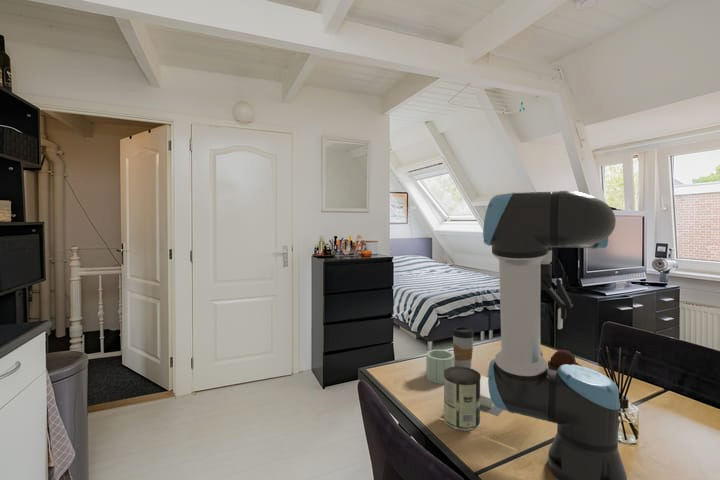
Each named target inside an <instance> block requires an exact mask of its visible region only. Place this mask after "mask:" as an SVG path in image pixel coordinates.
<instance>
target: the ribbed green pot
mask: <svg viewBox="0 0 720 480" xmlns="http://www.w3.org/2000/svg"><path fill="white" fill-rule="evenodd" d="M425 363H426V380H427V379H428V381H430V382H433V383H435V384H441V385H442V384H443V385H444V370H445V369H447V368H450V367H455V356H454V352H451V351H450V350H446V349H445V350H444V349H431V350H428V351H426V362H425Z"/></svg>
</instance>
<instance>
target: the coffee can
mask: <svg viewBox="0 0 720 480" xmlns="http://www.w3.org/2000/svg"><path fill="white" fill-rule="evenodd" d="M481 376H482V375H481V374H480V372H479V371H477V370H475V369H473V368H471V367H469V368H466V367H457V366H454V367H450V368H447V369H445V370H444V384H443V420H444V423H445V424H446V425H447V426H448V427H450V428H452V429H454V430H458V431H461V432H471V431H473V430H476V429H477V428H479V427H480V425H481V410H480V379H481Z"/></svg>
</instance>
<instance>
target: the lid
mask: <svg viewBox="0 0 720 480" xmlns="http://www.w3.org/2000/svg"><path fill="white" fill-rule="evenodd" d="M488 379H489V377H487V376H484V375H481V379H480V404H481V405H484V406H486V407H489V408H493V407H494V406H495V405H494V404H493V402H492V400H491V397H490V393H489V387H488Z"/></svg>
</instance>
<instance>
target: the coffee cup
mask: <svg viewBox="0 0 720 480" xmlns="http://www.w3.org/2000/svg"><path fill="white" fill-rule="evenodd" d="M474 337H475V335H474V331H473V328H471V327H467V326H466V327H465V326H457V327H454V328H453V330H452V342H453V343H452V344H453V345H452V346H453V354H454V356H455V363H454V366H455V367H466V368H471V367H472V361H473V349H474V345H473V344H474Z"/></svg>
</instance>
